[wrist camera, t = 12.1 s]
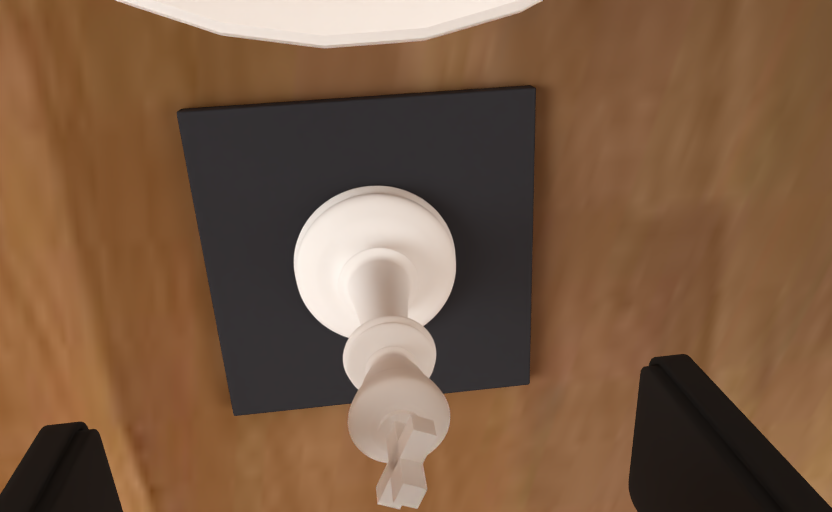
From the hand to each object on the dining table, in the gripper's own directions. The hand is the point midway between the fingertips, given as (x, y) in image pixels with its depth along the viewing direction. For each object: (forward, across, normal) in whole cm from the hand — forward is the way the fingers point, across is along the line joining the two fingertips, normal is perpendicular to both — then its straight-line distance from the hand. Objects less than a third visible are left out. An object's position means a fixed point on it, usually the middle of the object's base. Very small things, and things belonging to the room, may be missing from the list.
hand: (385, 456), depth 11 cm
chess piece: (+10, 0, 0) cm, 10 cm away
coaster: (+10, 0, +1) cm, 10 cm away
